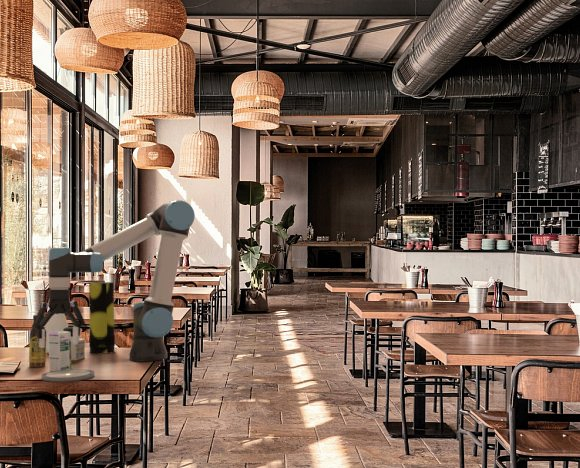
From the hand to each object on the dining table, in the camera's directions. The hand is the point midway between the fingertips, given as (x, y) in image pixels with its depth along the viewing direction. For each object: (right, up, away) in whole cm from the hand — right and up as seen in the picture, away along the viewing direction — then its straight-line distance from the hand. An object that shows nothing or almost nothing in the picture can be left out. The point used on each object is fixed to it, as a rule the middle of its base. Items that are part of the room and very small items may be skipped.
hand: (58, 345), depth 284 cm
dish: (+8, -9, -14) cm, 18 cm away
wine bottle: (-15, -10, +48) cm, 51 cm away
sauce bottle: (-11, -10, +11) cm, 19 cm away
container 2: (+5, -10, +47) cm, 48 cm away
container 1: (-3, -10, +29) cm, 31 cm away
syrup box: (+1, -10, 0) cm, 10 cm away
